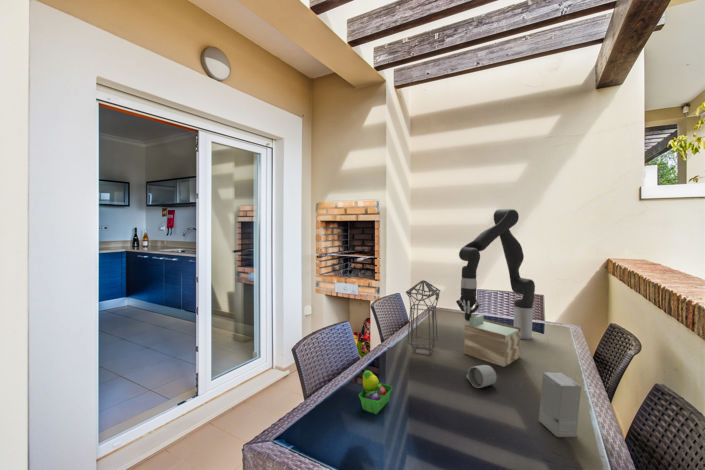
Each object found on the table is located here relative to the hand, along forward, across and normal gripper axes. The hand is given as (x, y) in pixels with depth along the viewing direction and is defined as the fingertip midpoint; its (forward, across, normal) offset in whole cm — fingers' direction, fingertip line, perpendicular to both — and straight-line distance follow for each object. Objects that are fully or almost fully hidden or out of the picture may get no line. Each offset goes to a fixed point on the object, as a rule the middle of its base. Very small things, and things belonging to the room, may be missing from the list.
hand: (467, 320), depth 160 cm
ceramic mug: (+14, -22, +32) cm, 41 cm away
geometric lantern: (+14, +12, +21) cm, 28 cm away
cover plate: (+2, -13, 0) cm, 13 cm away
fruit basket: (+14, -7, +74) cm, 76 cm away
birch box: (+14, -13, 0) cm, 19 cm away
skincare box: (+14, -52, +40) cm, 67 cm away
